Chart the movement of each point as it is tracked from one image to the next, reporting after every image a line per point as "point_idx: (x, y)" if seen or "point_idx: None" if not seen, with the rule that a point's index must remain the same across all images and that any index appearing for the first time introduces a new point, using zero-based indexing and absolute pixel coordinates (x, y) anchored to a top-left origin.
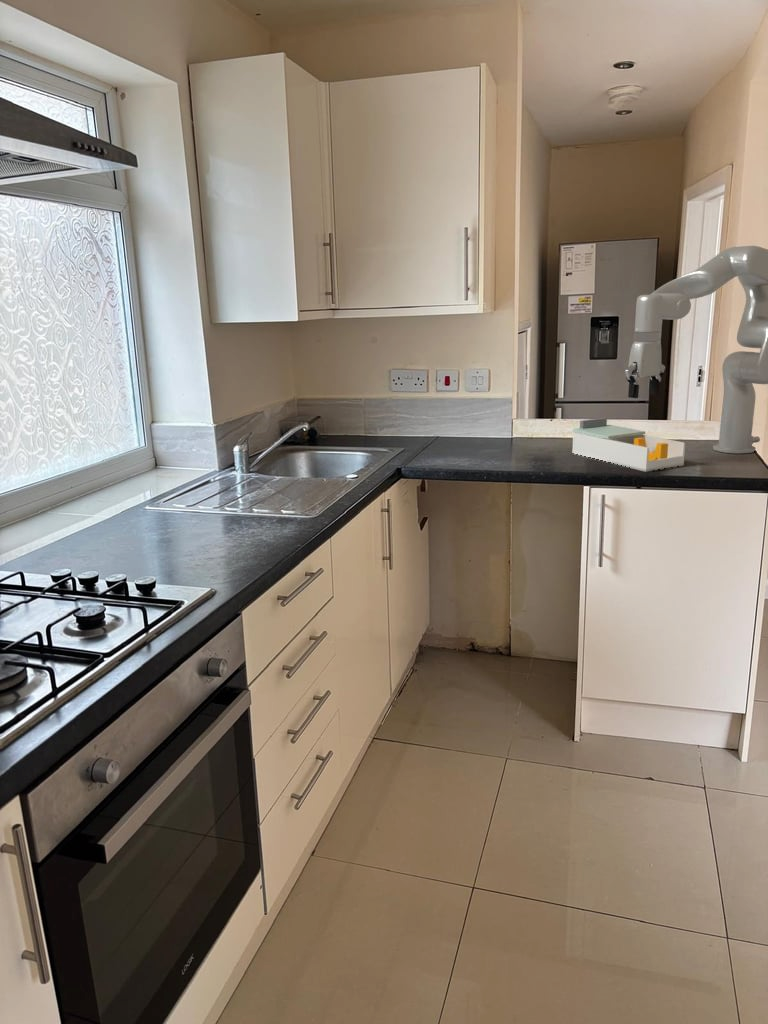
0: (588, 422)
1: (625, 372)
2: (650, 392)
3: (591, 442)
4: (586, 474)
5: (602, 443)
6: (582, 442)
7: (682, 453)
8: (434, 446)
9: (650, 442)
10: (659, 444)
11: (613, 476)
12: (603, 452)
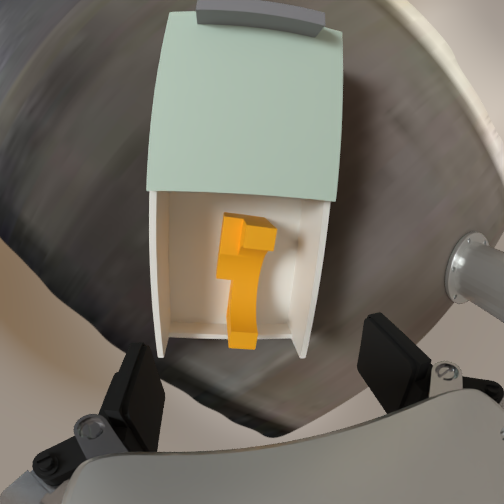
0: (225, 14)
1: (8, 491)
2: (369, 333)
3: None
4: (46, 265)
5: None
6: None
7: (293, 339)
8: None
9: (313, 230)
10: (229, 340)
11: (81, 311)
12: None
